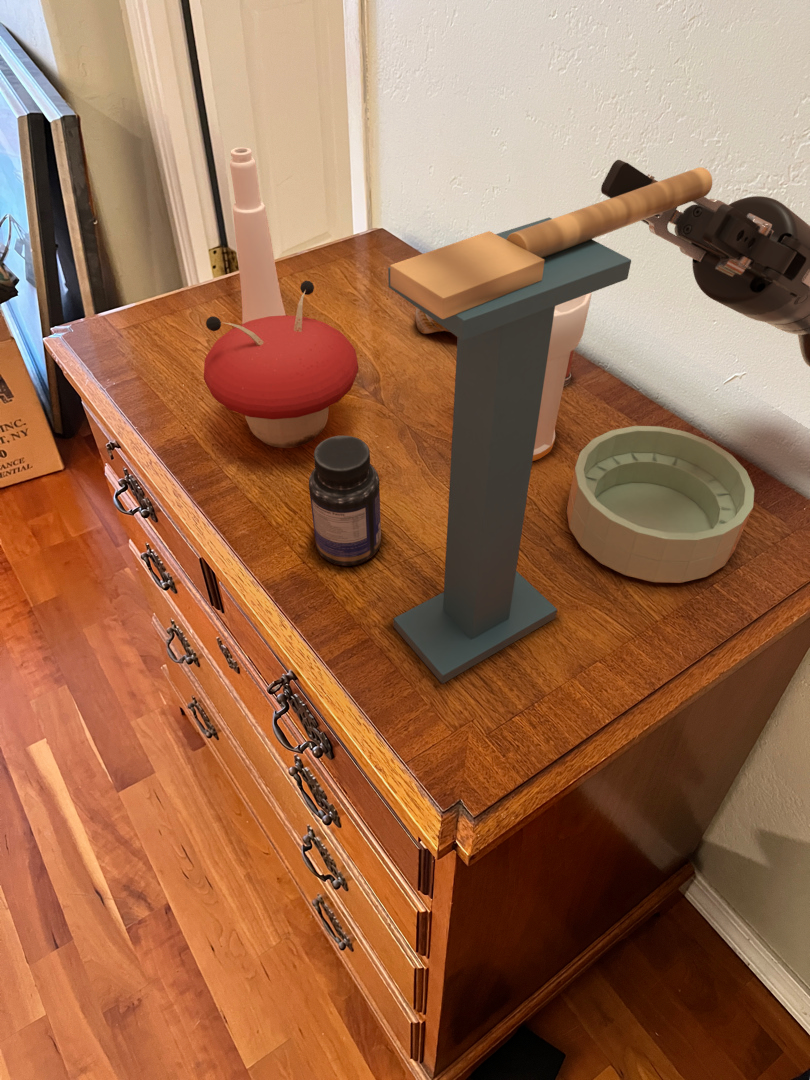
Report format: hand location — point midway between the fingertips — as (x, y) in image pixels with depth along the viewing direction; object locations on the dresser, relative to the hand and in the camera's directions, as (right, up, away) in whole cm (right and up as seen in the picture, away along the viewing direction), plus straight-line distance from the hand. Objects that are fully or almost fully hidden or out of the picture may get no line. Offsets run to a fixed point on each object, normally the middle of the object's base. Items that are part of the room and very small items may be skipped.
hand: (660, 198), depth 49 cm
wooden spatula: (-6, -4, -2) cm, 7 cm away
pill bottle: (-21, -22, +25) cm, 39 cm away
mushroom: (-28, -9, +38) cm, 48 cm away
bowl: (+8, -20, +27) cm, 34 cm away
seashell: (-9, +6, +53) cm, 54 cm away
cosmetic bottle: (-33, +5, +52) cm, 62 cm away
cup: (-4, -10, +37) cm, 38 cm away
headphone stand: (-10, -28, +19) cm, 35 cm away
